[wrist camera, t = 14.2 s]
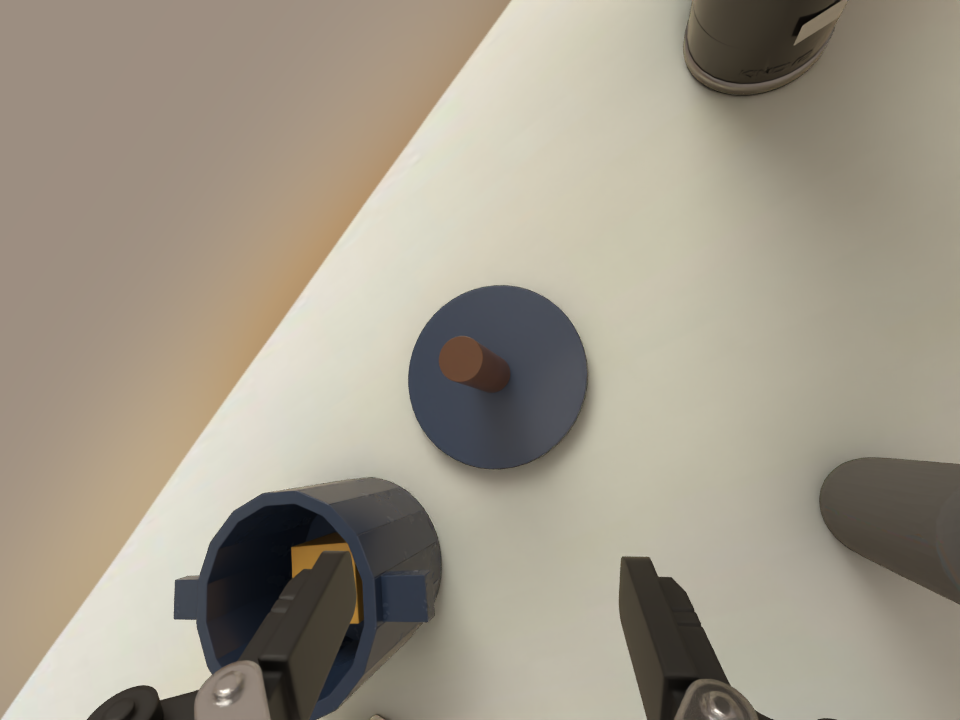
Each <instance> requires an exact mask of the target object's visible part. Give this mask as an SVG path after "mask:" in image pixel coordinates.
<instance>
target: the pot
mask: <svg viewBox="0 0 960 720" xmlns="http://www.w3.org/2000/svg"><path fill="white" fill-rule="evenodd" d="M334 532H338V534H339V535H340V536H341V537H342V538H343V539H344V540H345V541H346V543H347V544H348V546H349V548H350V551H351V553H352V556H353V559H354V561H355V564H356V566H357V569H358V572H359V574H360V577H361V579H362V586H363V610H364V620H363V621H361V622H360V623H359V624H349V627H348V629H347V632H346V634H345V636H344V639H343V641H342V643H341V646H340V648H339V651H338V653H337V655H336V658H335V660H334V662H333V665H332V667H331V670H330V672H329V674H328V677H327V679H326V681H325V684H324V686H323V689H322V691H321V693H320V696H319V698H318V700H317V703H316V705H315V708H314V710H313V712H312V715H311V717H310V719H309V720H317V719H319V718H321V717H323V716H325V715H327V714H330V713H332V712H334V711H336V710H337V709H338V708H339V707H340V706H341V705H342V704H343V703H344V702H345V701H346V700H347V699H348V698H349V697H350V696H351V695H352V694H353V693H354V692H356V691H357V690H358V689H359V688H360V687H361V686H362V685H363V684H364V683H365V682H366V681H367V680H368V679H369V678H370V677H371V676H372V675H373V674H374V673H375V672H376V671H377V670H378V669H379V668H380V667H381V666H382V665H383V664H384V663H385V662H386V661H387V660H388V659H389V658H390V657H391V656H392V655H393V654H395V653H396V652H397V651H398V650H399V649H400V648H401V647H402V646H403V645H404V644H405V643H406V642H407V641H408V640H409V639H410V638H411V637H412V635H413V634H414V633H415V631H416V630H417V629H418V628H419V627H420V626H421V624H422V623H423V622H429V621H430V620H431V619H432V618H433V617H434V616H435V611H434V602H435V599H436V597H437V594H438V590H439V585H440V579H441V553H440V546H439V542H438V538H437V534H436V532H435V529H434V526H433V524H432V522H431V520H430V518H429V516H428V514H427V513H426V511H425V510H424V509H423V507H422V506H421V504H420V503H419V502H418V501H417V500H416V499H415V498H414V497H413V496H412V495H411V494H410V493H408V492H407V491H406V490H404V489H403V488H401V487H400V486H398V485H396V484H394V483H392V482H389V481H386V480H383V479H378V478H373V477H370V478H359V479H347V480H341V481H335V482H329V483H323V484H316V485H310V486H304V487H298V488H292V489H286V490H280V491H273V492H267V493H262V494H261V495H259V496H257V497H256V498H254V499H252V500H251V501H249V502H248V503H246V504H244V505H243V506H241V507H239V508H238V509H236V510H234V511H233V512H232V513H231V515H230V516H229V518H228V519H227V520H226V522H225V523H224V524H223V526H222V527H221V528H220V530H219V531H218V532H217V534H216V535H215V537H214V538H213V539H212V541H211V543H210V545H209V548H208V551H207V554H206V557H205V560H204V563H203V566H202V569H201V572H200V576H186V577H183V578H180V579H177V580H175V596H174V619H185V620H197V621H196V624H197V630H198V634H199V637H200V641H201V645H202V649H203V652H204V656H205V660H206V663H207V667H208V669H209V670H210V672H211V673H212V675H213V674H214V673H215V672H216V671H218V670H219V669H221V668H223V667H225V666H226V665H229V664H231V663H234V662H237V661H238V659H239V658H240V656H241V655H242V653H243V652H244V650H245V648H246V647H247V645H248V644H249V642H250V641H251V639H252V638H253V636H254V634H255V633H256V631H257V630H258V628H259V627H260V625H261V624H262V622H263V621H264V619H265V617H266V616H267V614H268V613H270V611H271V608H272V607H273V605H274V604H275V602H276V600H278V599H279V596H280V594H281V593H282V591H283V590H284V588H285V586H286V585H287V583H288V582H289V581H290V580H291V579H292V555H291V547H293V546H296V545H299V544H302V543H305V542H308V541H310V540H313V539H316V538H319V537H322V536H325V535H328V534H331V533H334Z"/></svg>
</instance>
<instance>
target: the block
mask: <svg viewBox="0 0 960 720" xmlns="http://www.w3.org/2000/svg"><path fill="white" fill-rule="evenodd" d="M323 551H349V552H350V554H351V558H352V564H353V571H354V578H355V585H356V592H357V599H356V607H355V611H354V615H353V617H352V620H351V622H350V624H359V623H360V622H361V621H363V620H364V610H363V586H362V579H361V577H360V574H359V572H358V569H357V566H356V564H355V561H354V559H353V556H352V553H351V551H350V548H349V546H348V544H347V543H346V541H345V540H344V539H343V538H342V537H341V536H340V535H339V534H338V532H334V533H331V534H328V535H325V536H322V537H319V538H316V539H313V540H310V541H308V542H305V543H302V544H299V545H296V546H293V547H291V555H292V578H294V577H295V576H296V575H297V574H298V573H299V572H301V571H302V570H303V569H312V567H313V566H314V564H315V562H316V561H317V559H318V557H319V556H320V554H321V553H322V552H323Z"/></svg>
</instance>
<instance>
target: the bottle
mask: <svg viewBox="0 0 960 720" xmlns="http://www.w3.org/2000/svg"><path fill="white" fill-rule="evenodd" d="M820 509H821V513H822V516H823V519H824V521H825V523H826V525H827V526H828V528H829V529H830V531H831V532H832V533H833V535H834V536H835V537H836V538H837V539H838V540H839V541H840V542H842V543H843V544H844V545H845V546H847V547H848V548H849V549H851V550H853V551H855V552H856V553H858V554H860V555H861V556H863V557H865V558H867V559H869V560H871V561H873V562H875V563H877V564H879V565H881V566H883V567H885V568H887V569H889V570H891V571H893V572H895V573H897V574H899V575H901V576H903V577H905V578H907V579H909V580H911V581H913V582H915V583H917V584H919V585H921V586H923V587H925V588H927V589H929V590H931V591H933V592H935V593H937V594H940V595H942V596H944V597H946V598H948V599H950V600H952V601H954V602H956V603H958V604H960V464H953V463H941V462H929V461H916V460H904V459H892V458H860V459H855V460H851V461H848V462H846V463H844V464H842V465H840V466H838V467H837V468H836V469H834V470H833V471H832V472H831V473H830V474H829V475H828V477H827V478H826V479H825V481H824V484H823V486H822V488H821V493H820Z"/></svg>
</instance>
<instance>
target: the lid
mask: <svg viewBox="0 0 960 720" xmlns="http://www.w3.org/2000/svg"><path fill="white" fill-rule="evenodd" d="M587 377H588V371H587V360H586V356H585V351H584V348H583V345H582V342H581V340H580V337H579V335H578V333H577V331H576V329H575V327H574V326H573V324H572V323H571V321H570V320H569V319H568V317H567V316H566V315H565V314H564V313H563V312H562V311H561V310H560V309H559V308H558V307H557V306H556V305H555V304H553V303H552V302H551V301H550V300H548V299H546V298H545V297H543V296H541V295H540V294H537V293H535V292H533V291H530V290H528V289H524V288H520V287H515V286H507V285H494V286H487V287H481V288H478V289H474V290H471V291H469V292H466V293H464V294H461V295H460V296H458V297H456V298H454V299H452V300H451V301H450V302H448V303H447V304H446V305H444V306H443V307H442V308H441V309H440V310H439V311H437V312H436V313H435V314H434V316H433V317H432V318H431V319H430V320H429V321H428V323H427V324H426V326H425V327H424V329H423V330H422V332H421V334H420V336H419V338H418V340H417V342H416V344H415V347H414V350H413V352H412V356H411V360H410V365H409V374H408V387H409V394H410V400H411V404H412V408H413V411H414V413H415V416H416V418H417V420H418V422H419V424H420V426H421V428H422V429H423V431H424V432H425V434H426V435H427V436H428V438H429V439H430V440H431V441H432V442H433V443H434V444H435V445H436V446H437V447H438V448H439V449H440V450H442V451H443V452H444V453H445V454H447V455H449V456H450V457H452V458H454V459H455V460H457V461H460V462H462V463H464V464H467V465H470V466H474V467H478V468H485V469H505V468H511V467H516V466H519V465H523V464H526V463H529V462H531V461H533V460H535V459H537V458H539V457H541V456H542V455H544V454H546V453H547V452H549V451H550V450H551V449H552V448H554V447H555V446H556V445H557V444H558V443H559V442H560V441H561V440H562V439H563V438H564V437H565V436H566V435H567V433H568V432H569V430H570V429H571V428H572V426H573V425H574V423H575V421H576V419H577V417H578V415H579V413H580V411H581V408H582V405H583V402H584V399H585V394H586V389H587Z"/></svg>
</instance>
